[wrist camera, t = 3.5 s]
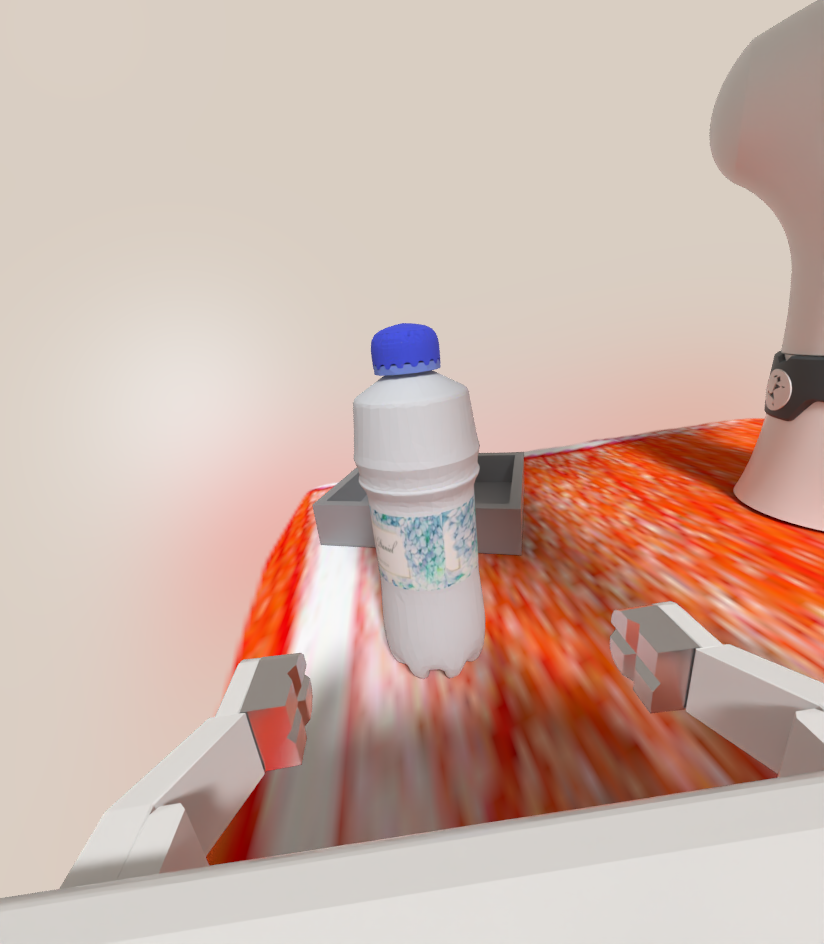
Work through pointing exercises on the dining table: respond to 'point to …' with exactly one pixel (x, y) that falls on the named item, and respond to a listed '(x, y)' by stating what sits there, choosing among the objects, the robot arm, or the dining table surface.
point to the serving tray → (495, 506)
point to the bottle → (422, 501)
